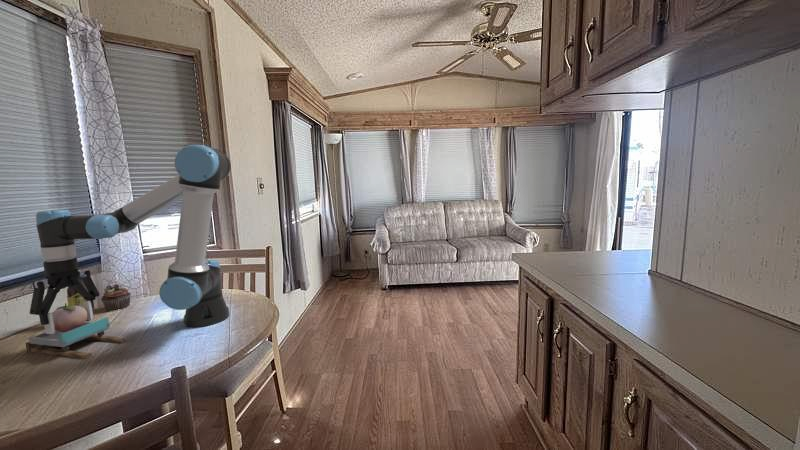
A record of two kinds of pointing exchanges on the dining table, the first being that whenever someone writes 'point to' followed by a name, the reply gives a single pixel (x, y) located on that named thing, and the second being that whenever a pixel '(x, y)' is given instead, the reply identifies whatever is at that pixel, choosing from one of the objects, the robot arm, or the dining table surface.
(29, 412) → the dining table surface
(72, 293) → the sauce bottle
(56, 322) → the decorative fruit
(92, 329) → the shallow teal tray
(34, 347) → the rails
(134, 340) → the dining table surface
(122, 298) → the cupcake
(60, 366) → the dining table surface
